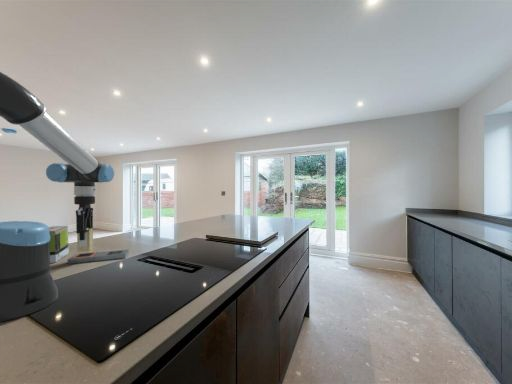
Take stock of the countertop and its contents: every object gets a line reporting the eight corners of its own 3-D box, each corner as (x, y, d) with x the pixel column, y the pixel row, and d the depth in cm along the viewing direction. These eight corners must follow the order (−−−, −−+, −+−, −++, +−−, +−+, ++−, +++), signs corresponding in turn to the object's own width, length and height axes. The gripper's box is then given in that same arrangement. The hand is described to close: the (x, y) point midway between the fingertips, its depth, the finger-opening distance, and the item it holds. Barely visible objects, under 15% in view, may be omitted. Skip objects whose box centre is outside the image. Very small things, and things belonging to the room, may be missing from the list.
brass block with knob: (89, 251, 96) (89, 228, 96) (77, 252, 95) (77, 229, 94) (93, 248, 100) (92, 227, 100) (81, 249, 99) (81, 227, 99)
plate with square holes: (125, 258, 100) (125, 253, 100) (67, 263, 92) (67, 258, 92) (128, 253, 107) (128, 248, 107) (75, 258, 99) (75, 253, 99)
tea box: (43, 256, 103) (43, 226, 103) (69, 253, 107) (69, 225, 107) (25, 266, 89) (25, 231, 89) (56, 263, 93) (55, 230, 93)
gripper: (87, 196, 90) (87, 249, 91) (100, 195, 107) (101, 240, 107) (65, 196, 88) (66, 251, 88) (82, 195, 104) (83, 241, 104)
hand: (85, 245), depth 97 cm, fingers closed on brass block with knob, 4 cm apart
